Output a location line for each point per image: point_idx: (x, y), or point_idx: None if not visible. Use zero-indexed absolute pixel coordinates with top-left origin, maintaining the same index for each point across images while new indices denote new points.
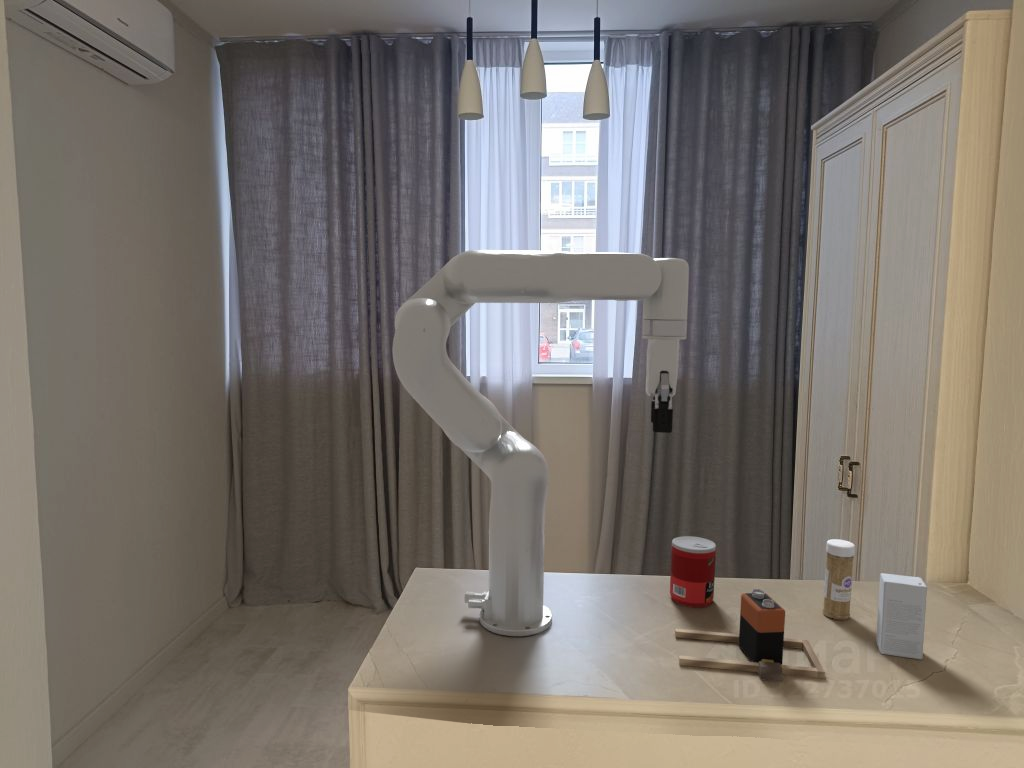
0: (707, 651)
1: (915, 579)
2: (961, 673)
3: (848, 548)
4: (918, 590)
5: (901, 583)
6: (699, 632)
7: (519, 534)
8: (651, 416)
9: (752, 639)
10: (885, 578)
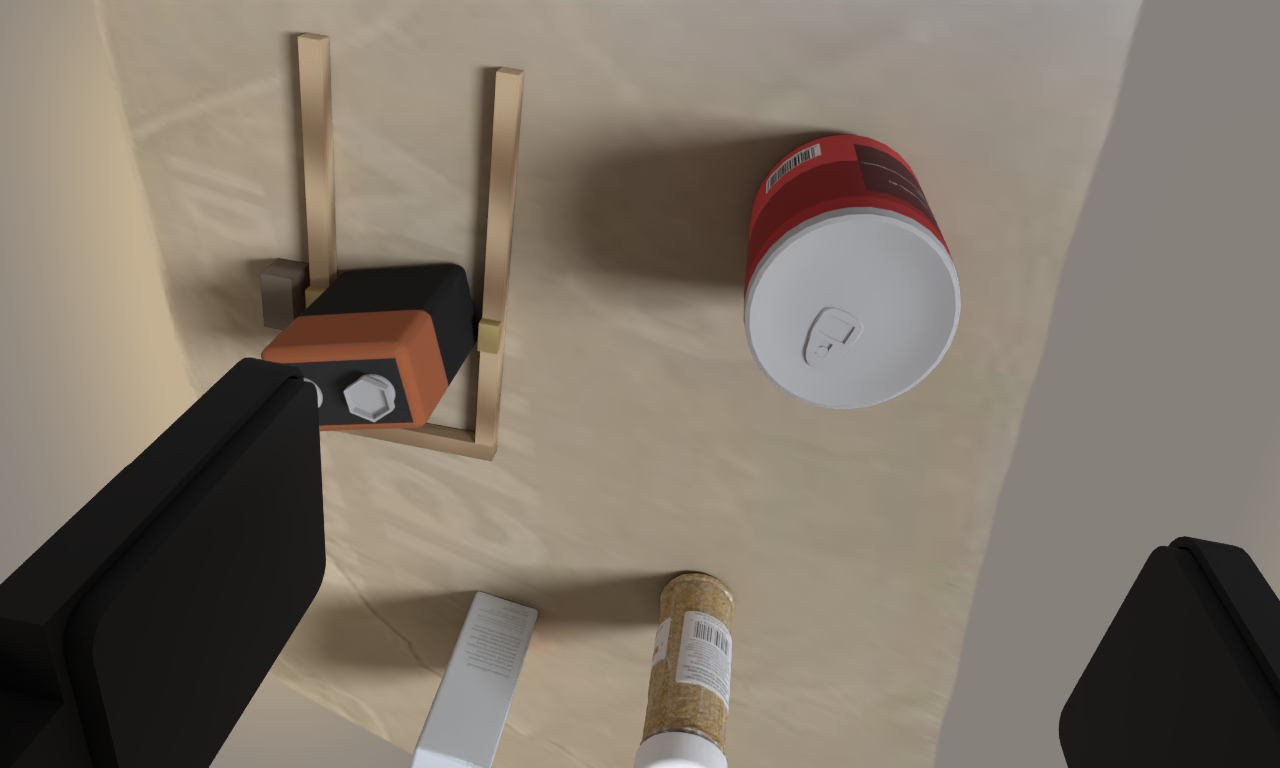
0: (417, 155)
1: None
2: (413, 685)
3: None
4: None
5: None
6: (499, 159)
7: None
8: (1224, 606)
9: (341, 297)
10: (440, 761)
